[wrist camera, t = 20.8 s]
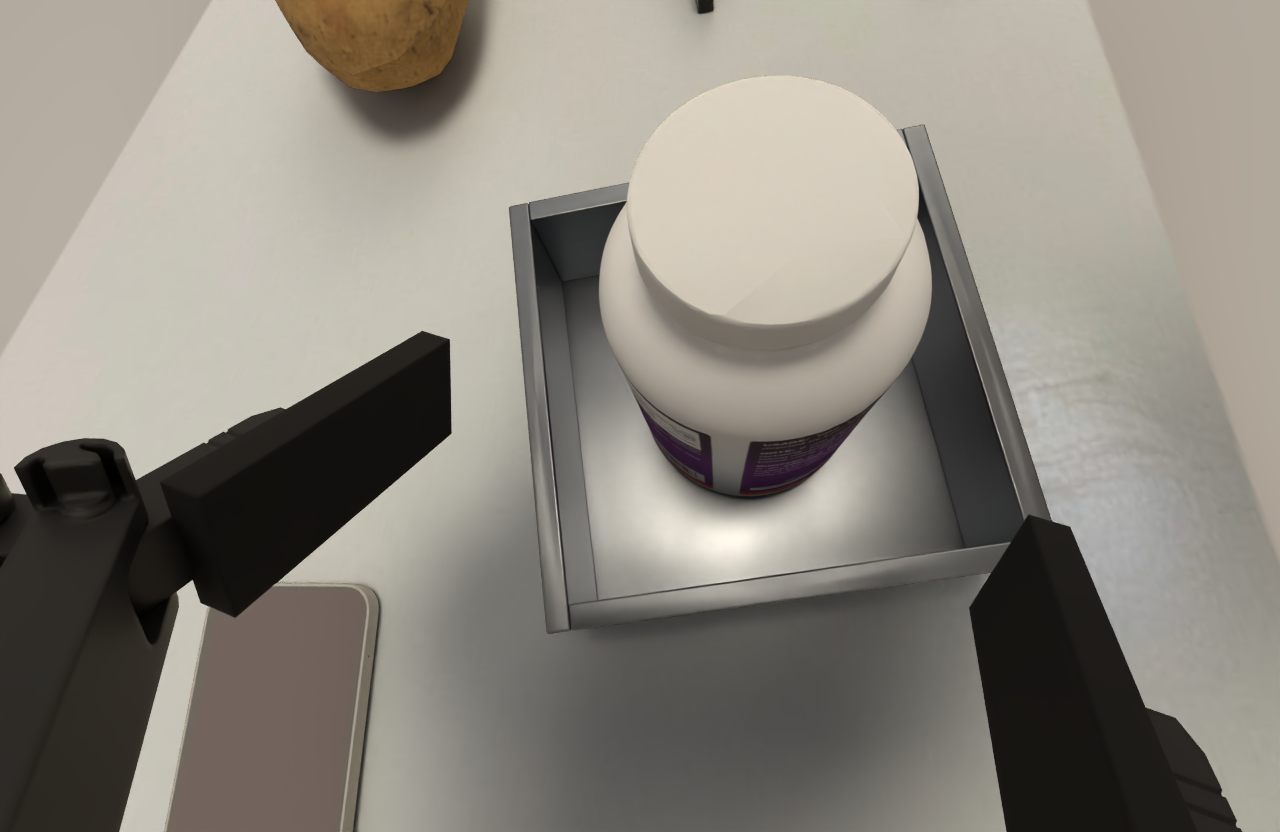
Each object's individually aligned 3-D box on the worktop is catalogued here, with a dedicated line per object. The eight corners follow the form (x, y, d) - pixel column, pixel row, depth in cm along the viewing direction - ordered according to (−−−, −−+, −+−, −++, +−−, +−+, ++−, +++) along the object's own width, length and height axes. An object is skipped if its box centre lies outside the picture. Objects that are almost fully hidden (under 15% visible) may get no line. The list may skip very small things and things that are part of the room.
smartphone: (374, 583, 26) (319, 1033, 21) (385, 584, 26) (334, 1015, 22) (210, 583, 26) (127, 1013, 22) (227, 583, 27) (150, 998, 23)
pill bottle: (854, 326, 26) (1011, 29, 12) (832, 517, 24) (988, 424, 10) (665, 303, 27) (609, 11, 13) (629, 481, 25) (522, 356, 11)
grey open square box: (882, 218, 28) (925, 123, 22) (981, 568, 24) (1066, 562, 18) (549, 280, 29) (508, 206, 24) (585, 623, 25) (545, 634, 19)
